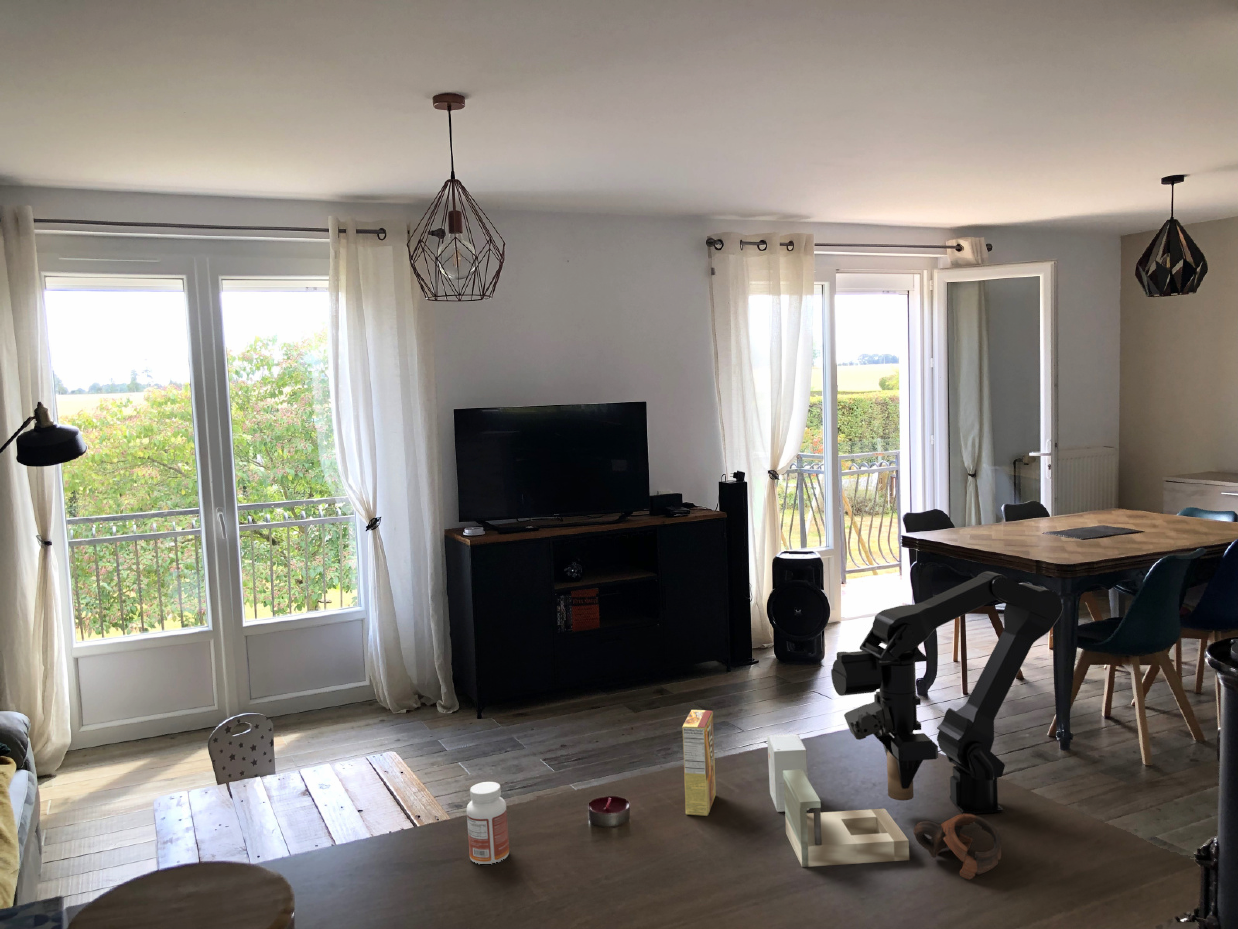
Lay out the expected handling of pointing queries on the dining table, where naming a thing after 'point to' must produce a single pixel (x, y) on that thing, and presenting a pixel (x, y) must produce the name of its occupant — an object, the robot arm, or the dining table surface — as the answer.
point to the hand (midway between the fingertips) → (900, 783)
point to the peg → (896, 781)
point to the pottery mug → (959, 842)
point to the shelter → (837, 830)
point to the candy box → (699, 762)
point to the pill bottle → (487, 824)
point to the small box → (784, 763)
